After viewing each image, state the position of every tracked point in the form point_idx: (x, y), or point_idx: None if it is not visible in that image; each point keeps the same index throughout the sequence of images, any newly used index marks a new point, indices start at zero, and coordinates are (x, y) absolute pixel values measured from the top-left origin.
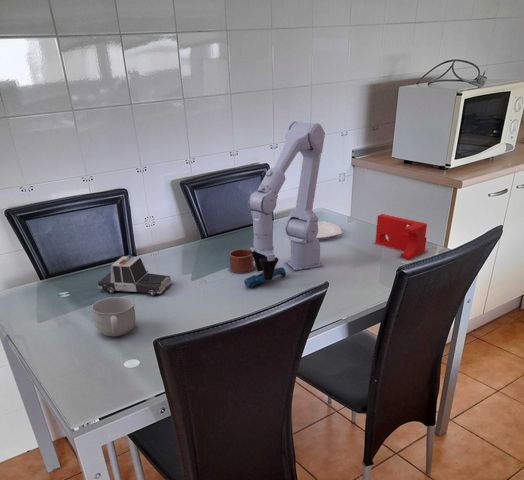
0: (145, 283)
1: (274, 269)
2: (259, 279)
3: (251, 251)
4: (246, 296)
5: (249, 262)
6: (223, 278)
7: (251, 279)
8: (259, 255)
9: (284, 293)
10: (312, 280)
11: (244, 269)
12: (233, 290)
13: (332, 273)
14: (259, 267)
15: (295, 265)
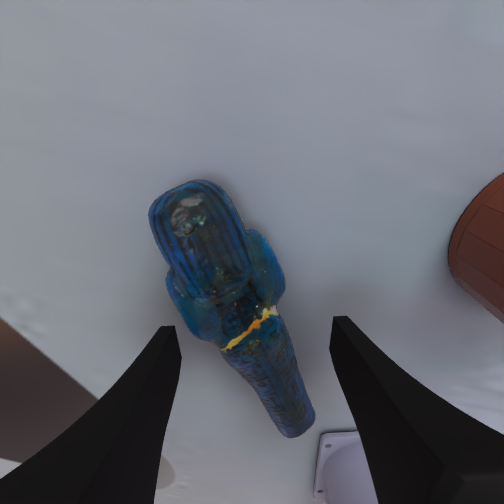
0: None
1: (284, 404)
2: (172, 298)
3: (464, 480)
4: (46, 143)
5: (500, 308)
6: (477, 33)
7: (162, 246)
8: (389, 458)
9: (77, 352)
10: (199, 454)
11: (472, 243)
12: (183, 61)
13: (239, 500)
14: (342, 349)
15: (350, 452)
